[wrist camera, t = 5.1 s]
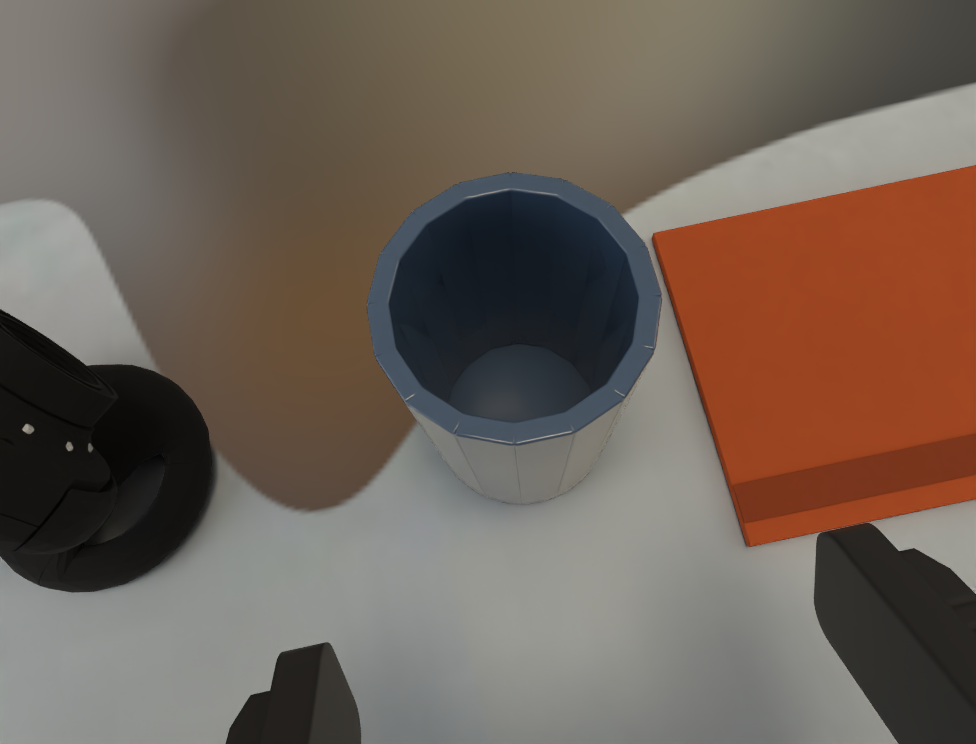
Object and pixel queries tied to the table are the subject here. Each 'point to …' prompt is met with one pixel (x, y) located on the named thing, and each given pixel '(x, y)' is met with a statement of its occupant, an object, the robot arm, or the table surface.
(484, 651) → the table surface
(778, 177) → the table surface
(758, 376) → the orange flat tray
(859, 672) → the robot arm
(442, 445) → the cup
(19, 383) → the webcam
